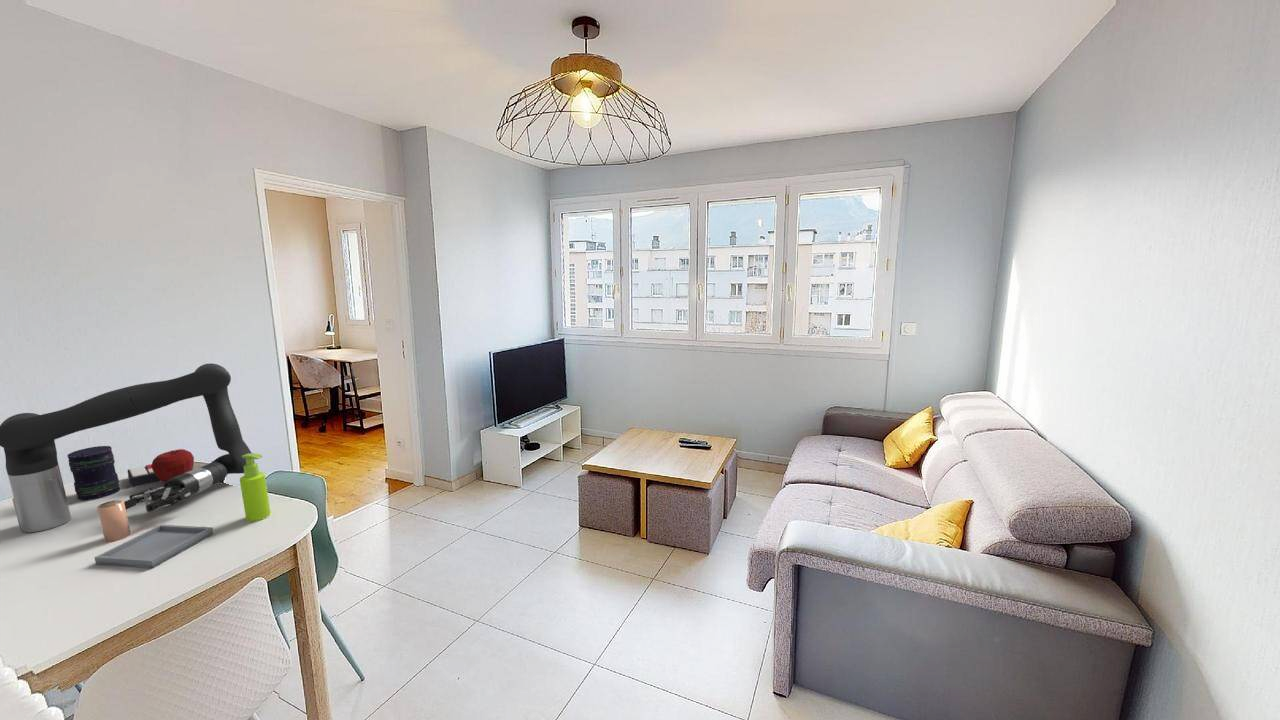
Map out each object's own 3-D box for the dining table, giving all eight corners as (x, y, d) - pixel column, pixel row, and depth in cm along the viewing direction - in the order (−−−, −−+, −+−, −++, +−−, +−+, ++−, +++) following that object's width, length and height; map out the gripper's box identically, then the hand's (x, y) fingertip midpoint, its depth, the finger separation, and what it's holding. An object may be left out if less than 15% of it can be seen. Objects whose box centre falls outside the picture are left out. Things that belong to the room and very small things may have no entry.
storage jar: (93, 488, 165) (84, 447, 163) (128, 485, 168) (120, 444, 165) (67, 502, 156) (57, 458, 153) (105, 498, 158) (95, 455, 155)
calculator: (189, 464, 177) (130, 476, 166) (191, 475, 178) (132, 488, 167) (184, 457, 184) (126, 467, 173) (185, 468, 185) (128, 479, 173)
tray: (96, 564, 124) (94, 557, 123) (162, 531, 139) (160, 524, 139) (153, 568, 122) (151, 560, 122) (213, 533, 138) (212, 527, 137)
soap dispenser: (260, 523, 144) (250, 459, 140) (241, 520, 145) (230, 457, 141) (278, 513, 149) (269, 451, 146) (259, 511, 151) (250, 450, 147)
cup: (99, 541, 134) (91, 507, 132) (120, 531, 139) (112, 499, 137) (115, 542, 133) (108, 508, 132) (135, 532, 138) (129, 499, 136)
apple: (179, 474, 177) (173, 443, 175) (205, 475, 176) (200, 444, 174) (146, 487, 166) (139, 455, 164) (174, 489, 165) (168, 456, 163)
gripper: (167, 471, 156) (108, 495, 140) (208, 473, 155) (153, 497, 139) (171, 493, 157) (114, 519, 141) (212, 495, 156) (158, 521, 140)
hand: (133, 508), depth 140 cm, fingers open, 8 cm apart
